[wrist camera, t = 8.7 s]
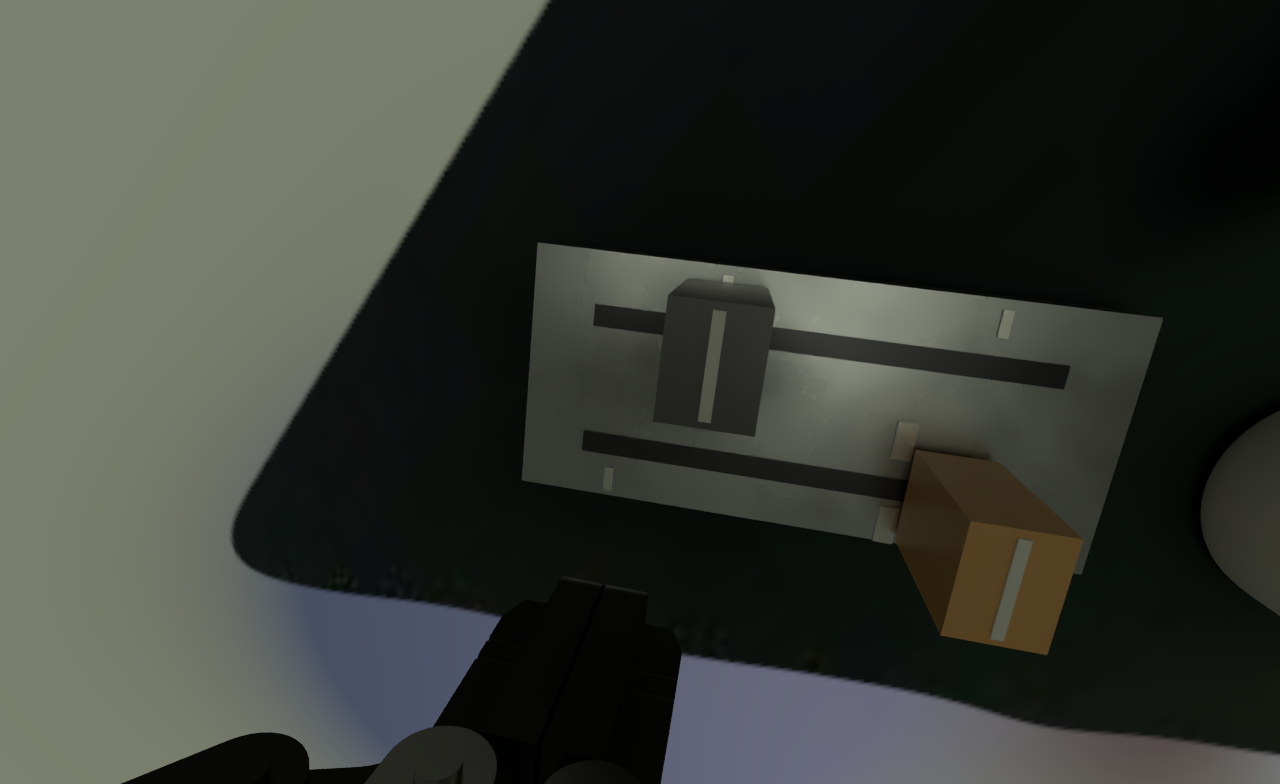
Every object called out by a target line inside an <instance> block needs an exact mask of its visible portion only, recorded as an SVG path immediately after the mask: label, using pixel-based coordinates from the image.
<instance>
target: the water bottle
mask: <svg viewBox="0 0 1280 784" xmlns="http://www.w3.org/2000/svg"><path fill="white" fill-rule="evenodd" d="M1200 518H1201V527H1202V533H1203V537H1204V540H1205V542H1206V545H1207V547H1208V550H1209V552H1210V554H1211V556H1212V557H1213V559H1214V560H1215V562H1216V563H1217V565H1218V566H1219V567H1220V569H1221V570H1222V571H1223V572H1224V573H1225V574H1226V575H1227V576H1228V577H1229V578H1230V579H1231V580H1232V581H1233V582H1234V583H1235V584H1237V585H1238V586H1239V587H1240V588H1241V589H1243V590H1244V591H1245V592H1247V593H1248V594H1249V595H1251V596H1252V597H1253V598H1255V599H1256V600H1258V601H1259V602H1261V603H1262V604H1263V605H1265V606H1266V607H1268V608H1269V609H1271V610H1272V611H1274V612H1275V613H1277V614H1278V615H1280V411H1278V412H1276V413H1274V414H1272V415H1270V416H1268V417H1266V418H1264V419H1263V420H1261V421H1259V422H1258V423H1256V424H1255V425H1253V426H1252V427H1251V428H1249V429H1248V430H1247V431H1245V432H1244V433H1243V434H1242V435H1241V436H1240V437H1238V438H1237V439H1236V440H1235V441H1234V442H1233V443H1232V444H1231V445H1230V446H1229V447H1228V449H1227V450H1226V451H1225V452H1224V453H1223V455H1222V456H1221V457H1220V459H1219V460H1218V462H1217V463H1216V465H1215V466H1214V468H1213V470H1212V472H1211V474H1210V476H1209V478H1208V480H1207V483H1206V486H1205V489H1204V492H1203V496H1202V502H1201V514H1200Z"/></svg>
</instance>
